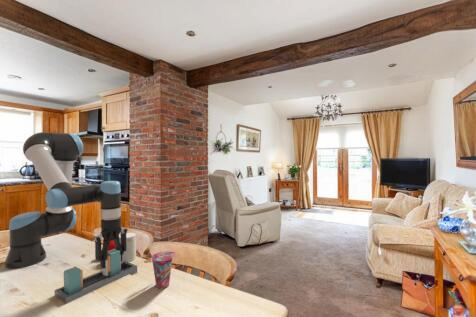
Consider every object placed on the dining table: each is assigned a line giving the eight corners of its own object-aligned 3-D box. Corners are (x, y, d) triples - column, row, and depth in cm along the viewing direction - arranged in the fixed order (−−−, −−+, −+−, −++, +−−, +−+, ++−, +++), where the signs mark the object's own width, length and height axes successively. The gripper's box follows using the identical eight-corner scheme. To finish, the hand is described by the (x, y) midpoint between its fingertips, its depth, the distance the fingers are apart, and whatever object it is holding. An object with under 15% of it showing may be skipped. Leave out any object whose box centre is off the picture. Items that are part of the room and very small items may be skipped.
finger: (104, 274, 101) (103, 252, 100) (115, 269, 105) (114, 248, 105) (109, 276, 99) (108, 254, 98) (120, 271, 103) (120, 250, 102)
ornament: (122, 258, 121) (122, 239, 121) (102, 261, 118) (102, 241, 117) (123, 251, 129) (123, 233, 129) (104, 254, 126) (104, 235, 126)
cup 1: (129, 263, 116) (129, 238, 116) (114, 261, 118) (114, 237, 118) (139, 256, 124) (139, 233, 124) (125, 254, 126) (125, 232, 125)
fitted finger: (83, 291, 90) (83, 268, 90) (69, 298, 86) (68, 273, 86) (78, 288, 93) (77, 265, 92) (64, 294, 88) (63, 270, 88)
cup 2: (165, 292, 91) (165, 261, 91) (147, 288, 94) (146, 258, 94) (178, 280, 100) (178, 252, 100) (161, 277, 103) (161, 249, 103)
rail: (54, 298, 88) (54, 290, 88) (125, 267, 112) (125, 260, 112) (66, 306, 83) (66, 298, 83) (137, 272, 107) (137, 265, 107)
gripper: (125, 212, 111) (126, 261, 111) (83, 221, 96) (84, 279, 96) (135, 214, 107) (136, 265, 107) (93, 224, 92) (94, 284, 92)
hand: (111, 271), depth 102 cm, fingers closed on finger, 5 cm apart
